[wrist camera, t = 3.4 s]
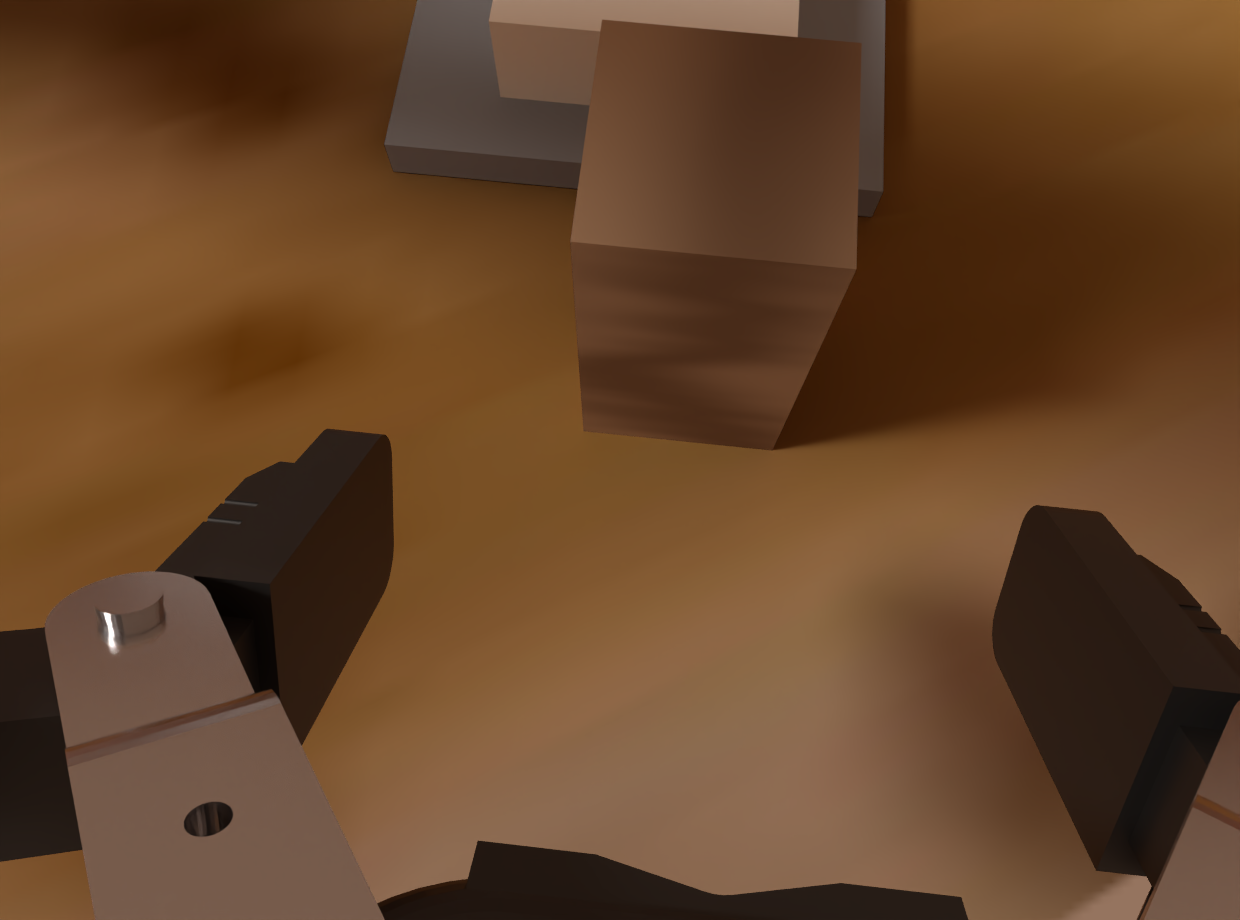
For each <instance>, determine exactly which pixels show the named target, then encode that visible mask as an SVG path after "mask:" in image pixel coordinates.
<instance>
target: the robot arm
mask: <svg viewBox="0 0 1240 920" xmlns="http://www.w3.org/2000/svg"><path fill="white" fill-rule="evenodd" d="M393 549H394V534H393V486H392V452H391V445H390V441H389V439H388V437H387V436H386V435H382V434H372V433H363V432H353V431H344V430H335V429H326V430H324V431H323V432H322V433H321V434H320V435H319V437H318V438H317V439H316V440H315V441H314V442H313V443H312V444H311V445H310V447H309V448H308V449H307V450H306V451H305V452H304V453H303V454H302V455H301V457H300V458H299V459H298V460H297V461H296V462H295V463H289V462H278V463H276V464H274V465H272V466H270V467H268V468H266V469H264V470H261V471H259V472H257V473H255V474H253V475H251V476H249V477H247V478H245V479H244V480H243V481H242V482H241V483H240V485H239V486H238V487H237V488H236V489H235V490H234V491H233V492H232V493H231V494H230V495H229V496H228V497H227V498H226V499H225V504H220V505H219V506H218V507H217V508H216V509H215V510H214V511H213V512H212V513H211V514H210V515H209V516H208V521H207V522H202V524H201V525H200V526H199V527H198V528H197V529H196V530H195V531H194V532H193V533H192V534H191V535H190V536H189V537H188V538H187V539H186V540H185V541H184V542H183V543H182V544H181V545H180V546H179V547H178V548H177V549H176V550H175V551H174V552H173V553H172V554H171V555H170V556H169V557H168V558H167V559H166V560H165V562H164V563H163V564H162V565H161V566H160V567H159V568H158V569H157V570H156V571H155V572H138V573H130V574H124V575H118V576H114V577H110V578H106V579H103V580H100V581H97V582H95V583H92V584H90V585H87V586H85V587H83V588H81V589H79V590H77V591H75V592H73V593H72V594H70V595H69V596H67V597H66V598H64V599H63V600H62V601H60V602H59V603H58V604H57V605H56V606H55V607H54V608H53V609H52V611H51V612H50V614H49V615H48V617H47V620H46V623H45V627H44V628H36V629H26V630H14V631H2V632H0V862H1V861H8V860H15V859H22V858H28V857H35V856H42V855H49V854H56V853H63V852H70V851H77V850H83V854H84V860H85V865H86V871H87V876H88V882H89V887H90V893H91V898H92V904H93V909H94V915H95V920H968V918H967V915H966V911H965V908H964V905H963V902H962V898H961V897H955V896H946V895H938V894H929V893H921V892H912V891H904V890H895V889H887V888H878V887H869V886H861V885H852V884H844V883H838V884H829V885H820V886H811V887H802V888H793V889H783V890H774V891H765V892H756V893H747V894H737V895H716V894H711V893H707V892H704V891H701V890H698V889H695V888H692V887H689V886H686V885H684V884H681V883H678V882H675V881H672V880H669V879H666V878H663V877H660V876H657V875H654V874H651V873H648V872H645V871H642V870H640V869H637V868H634V867H631V866H628V865H625V864H622V863H619V862H616V861H613V860H610V859H607V858H604V857H601V856H599V855H596V854H587V853H579V852H570V851H562V850H553V849H545V848H536V847H528V846H519V845H511V844H502V843H493V842H485V841H478V842H477V846H476V850H475V854H474V858H473V861H472V865H471V869H470V873H469V877H468V879H465V880H457V881H449V882H445V883H440V884H436V885H431V886H426V887H422V888H418V889H415V890H412V891H409V892H406V893H403V894H400V895H397V896H394V897H391V898H388V899H386V900H384V901H382V902H380V903H376V900H375V898H374V896H373V894H372V892H371V890H370V888H369V886H368V884H367V882H366V880H365V877H364V875H363V873H362V871H361V869H360V867H359V865H358V863H357V861H356V859H355V857H354V855H353V852H352V850H351V848H350V846H349V844H348V842H347V840H346V838H345V836H344V834H343V832H342V830H341V827H340V825H339V823H338V821H337V819H336V817H335V815H334V813H333V811H332V809H331V807H330V804H329V802H328V800H327V798H326V796H325V794H324V792H323V790H322V788H321V786H320V784H319V782H318V779H317V777H316V775H315V773H314V771H313V769H312V767H311V765H310V763H309V761H308V759H307V756H306V754H305V752H304V750H303V748H302V744H303V742H304V740H305V739H306V737H307V735H308V733H309V731H310V729H311V727H312V726H313V724H314V722H315V720H316V718H317V716H318V714H319V713H320V711H321V709H322V707H323V705H324V703H325V701H326V700H327V698H328V696H329V694H330V692H331V690H332V688H333V687H334V685H335V683H336V681H337V679H338V677H339V675H340V673H341V672H342V670H343V668H344V666H345V664H346V662H347V660H348V659H349V657H350V655H351V653H352V651H353V649H354V647H355V646H356V644H357V642H358V640H359V638H360V636H361V634H362V633H363V631H364V629H365V627H366V625H367V623H368V621H369V620H370V618H371V616H372V614H373V612H374V610H375V608H376V607H377V605H378V603H379V601H380V599H381V597H382V595H383V593H384V591H385V589H386V586H387V583H388V580H389V576H390V572H391V567H392V560H393ZM1201 608H1202V606H1201V605H1200V604H1199V603H1198V602H1197V601H1196V600H1195V598H1194V597H1193V596H1192V595H1191V594H1190V593H1189V592H1188V590H1187V589H1186V588H1185V587H1184V586H1183V585H1182V583H1181V582H1180V581H1179V580H1178V579H1176V578H1175V577H1173V576H1172V575H1170V574H1169V573H1167V572H1166V571H1164V570H1163V569H1161V568H1160V567H1158V566H1157V565H1155V564H1154V563H1152V562H1151V561H1149V560H1148V559H1146V558H1145V557H1143V556H1142V555H1137V554H1136V553H1135V552H1134V551H1133V550H1132V548H1131V547H1130V546H1129V545H1128V544H1127V542H1126V541H1125V540H1124V539H1123V538H1122V536H1121V535H1120V534H1119V533H1118V532H1117V530H1116V529H1115V528H1114V527H1113V526H1112V524H1111V523H1110V522H1109V521H1108V520H1107V518H1106V517H1105V516H1104V515H1103V514H1102V513H1100V512H1096V511H1087V510H1078V509H1068V508H1059V507H1049V506H1040V505H1036V506H1033V507H1032V508H1031V509H1030V510H1029V511H1028V512H1027V514H1026V515H1025V517H1024V520H1023V522H1022V525H1021V528H1020V531H1019V534H1018V537H1017V541H1016V544H1015V547H1014V551H1013V554H1012V557H1011V560H1010V564H1009V567H1008V570H1007V574H1006V577H1005V580H1004V583H1003V587H1002V590H1001V593H1000V597H999V600H998V603H997V606H996V610H995V614H994V619H993V629H992V641H993V649H994V654H995V658H996V661H997V663H998V666H999V668H1000V670H1001V672H1002V674H1003V676H1004V678H1005V680H1006V682H1007V684H1008V687H1009V689H1010V691H1011V693H1012V695H1013V697H1014V699H1015V701H1016V703H1017V705H1018V707H1019V710H1020V712H1021V714H1022V716H1023V718H1024V720H1025V722H1026V724H1027V726H1028V728H1029V731H1030V733H1031V735H1032V737H1033V739H1034V741H1035V743H1036V745H1037V747H1038V749H1039V752H1040V754H1041V756H1042V758H1043V760H1044V762H1045V764H1046V766H1047V768H1048V770H1049V773H1050V775H1051V777H1052V779H1053V781H1054V783H1055V785H1056V787H1057V789H1058V791H1059V794H1060V796H1061V798H1062V800H1063V802H1064V804H1065V806H1066V808H1067V810H1068V812H1069V815H1070V817H1071V819H1072V821H1073V823H1074V825H1075V827H1076V829H1077V831H1078V833H1079V836H1080V838H1081V840H1082V842H1083V844H1084V846H1085V848H1086V850H1087V852H1088V854H1089V857H1090V859H1091V861H1092V863H1093V865H1094V867H1095V869H1096V871H1104V872H1113V873H1122V874H1130V875H1139V876H1147V878H1148V880H1149V882H1150V883H1151V886H1152V887H1151V889H1150V891H1149V894H1148V896H1147V898H1146V900H1145V902H1144V904H1143V906H1142V909H1141V911H1140V913H1139V915H1138V918H1137V920H1240V650H1239V649H1238V648H1237V647H1236V645H1235V644H1234V643H1233V642H1232V641H1231V640H1230V639H1229V637H1228V636H1227V635H1224V634H1221V628H1220V627H1219V626H1218V625H1217V624H1216V623H1215V621H1214V620H1213V619H1212V618H1211V617H1210V616H1209V614H1208V613H1207V612H1202V611H1201Z"/></svg>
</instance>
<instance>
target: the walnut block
mask: <svg viewBox="0 0 1240 920" xmlns="http://www.w3.org/2000/svg"><path fill="white" fill-rule="evenodd" d="M861 48H862V43H856V42H845V41H834V40H823V39H812V38H801V37H790V36H779V35H768V34H757V33H746V32H734V31H723V30H712V29H701V28H690V27H679V26H668V25H657V24H646V23H635V22H624V21H613V20H602V23H601V30H600V37H599V44H598V51H597V58H596V65H595V72H594V79H593V86H592V93H591V100H590V107H589V114H588V121H587V128H586V135H585V142H584V149H583V156H582V163H581V170H580V177H579V184H578V191H577V198H576V205H575V212H574V219H573V226H572V233H571V240H570V245H571V259H572V274H573V288H574V302H575V316H576V330H577V344H578V358H579V373H580V387H581V401H582V415H583V429H584V431H588V432H597V433H607V434H617V435H627V436H637V437H646V438H656V439H666V440H676V441H686V442H695V443H705V444H715V445H725V446H735V447H744V448H754V449H764V450H773V448H774V446H775V443H776V441H777V439H778V437H779V435H780V433H781V431H782V428H783V426H784V424H785V422H786V420H787V418H788V415H789V413H790V411H791V409H792V407H793V405H794V403H795V400H796V398H797V396H798V394H799V392H800V390H801V387H802V385H803V383H804V381H805V379H806V377H807V375H808V372H809V370H810V368H811V366H812V364H813V362H814V360H815V357H816V355H817V353H818V351H819V349H820V347H821V344H822V342H823V340H824V338H825V336H826V334H827V332H828V329H829V327H830V325H831V323H832V321H833V319H834V317H835V314H836V312H837V310H838V308H839V306H840V304H841V301H842V299H843V297H844V295H845V293H846V291H847V289H848V286H849V284H850V282H851V280H852V278H853V276H854V273H855V271H856V267H857V223H858V179H859V136H860V92H861Z"/></svg>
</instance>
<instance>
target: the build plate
mask: <svg viewBox="0 0 1240 920" xmlns="http://www.w3.org/2000/svg"><path fill="white" fill-rule="evenodd" d="M602 20H613V21H624V22H635V23H646V24H657V25H668V26H679V27H690V28H701V29H712V30H723V31H734V32H746V33H757V34H768V35H779V36H790V37H801V38H812V39H823V40H834V41H845V42H856V43H862V48H861V92H860V136H859V179H858V216H868V217H872V215H873V213H874V211H875V209H876V207H877V204H878V202H879V200H880V198H881V195H882V193H883V167H884V82H885V0H417V4H416V8H415V13H414V17H413V21H412V26H411V30H410V34H409V39H408V43H407V47H406V52H405V56H404V60H403V65H402V69H401V73H400V78H399V82H398V86H397V91H396V95H395V99H394V104H393V108H392V112H391V117H390V121H389V125H388V130H387V134H386V138H385V143H384V146H385V149H386V151H387V154H388V157H389V160H390V163H391V166H392V169H393V171H395V172H406V173H416V174H427V175H437V176H448V177H458V178H469V179H479V180H490V181H500V182H511V183H521V184H532V185H542V186H553V187H563V188H574V189H578V184H579V177H580V170H581V163H582V156H583V149H584V142H585V135H586V128H587V121H588V114H589V107H590V100H591V93H592V86H593V79H594V72H595V65H596V58H597V51H598V44H599V37H600V30H601V23H602Z"/></svg>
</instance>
